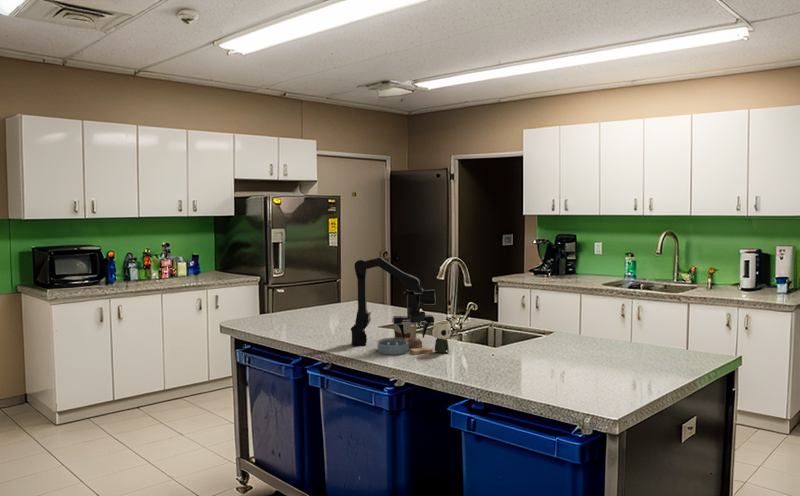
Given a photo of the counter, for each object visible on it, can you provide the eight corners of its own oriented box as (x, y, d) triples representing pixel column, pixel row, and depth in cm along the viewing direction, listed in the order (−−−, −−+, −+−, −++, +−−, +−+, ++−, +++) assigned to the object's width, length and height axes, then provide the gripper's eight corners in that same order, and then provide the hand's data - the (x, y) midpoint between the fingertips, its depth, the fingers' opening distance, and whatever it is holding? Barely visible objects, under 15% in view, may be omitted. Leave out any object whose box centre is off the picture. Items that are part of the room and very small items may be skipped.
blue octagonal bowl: (379, 355, 261) (379, 346, 261) (376, 348, 274) (376, 340, 274) (409, 354, 263) (409, 345, 263) (405, 347, 276) (405, 339, 276)
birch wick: (412, 346, 279) (412, 327, 278) (410, 344, 283) (410, 325, 283) (416, 346, 279) (416, 327, 278) (414, 344, 283) (414, 325, 283)
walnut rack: (407, 347, 277) (407, 342, 277) (405, 343, 285) (405, 338, 284) (421, 347, 278) (421, 341, 277) (419, 343, 285) (419, 338, 285)
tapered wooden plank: (414, 355, 262) (414, 351, 262) (409, 353, 267) (409, 349, 266) (432, 353, 266) (432, 349, 266) (427, 351, 270) (427, 347, 270)
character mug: (438, 355, 260) (438, 325, 260) (427, 353, 266) (427, 323, 265) (456, 351, 268) (456, 322, 267) (444, 349, 273) (444, 320, 272)
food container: (417, 336, 303) (417, 316, 303) (417, 338, 297) (416, 318, 297) (393, 335, 304) (393, 315, 304) (391, 338, 298) (391, 317, 298)
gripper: (395, 307, 271) (395, 342, 272) (436, 306, 273) (436, 340, 274) (392, 303, 282) (392, 337, 283) (431, 302, 284) (431, 336, 285)
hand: (413, 337), depth 281 cm, fingers open, 9 cm apart
